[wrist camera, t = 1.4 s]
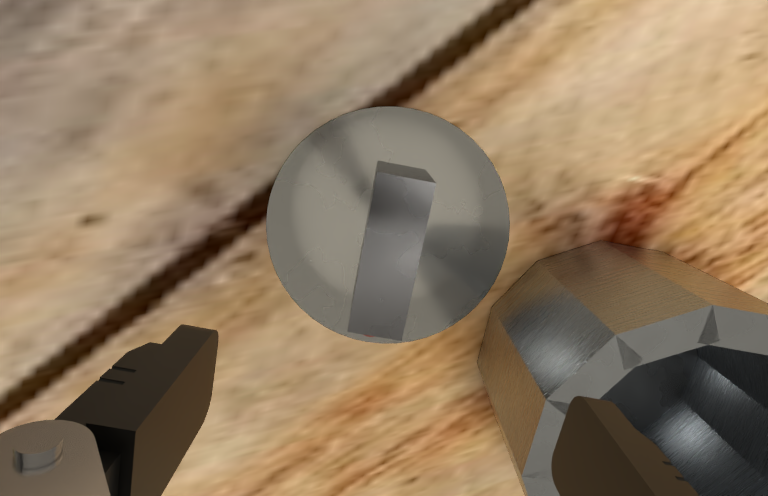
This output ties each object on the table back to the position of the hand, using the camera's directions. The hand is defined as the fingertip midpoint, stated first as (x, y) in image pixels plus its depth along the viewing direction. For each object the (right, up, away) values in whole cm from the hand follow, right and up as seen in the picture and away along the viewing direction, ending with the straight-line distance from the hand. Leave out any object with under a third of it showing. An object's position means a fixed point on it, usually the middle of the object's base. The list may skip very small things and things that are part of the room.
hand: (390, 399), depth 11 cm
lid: (0, +4, +15) cm, 16 cm away
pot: (+12, -3, +17) cm, 21 cm away
